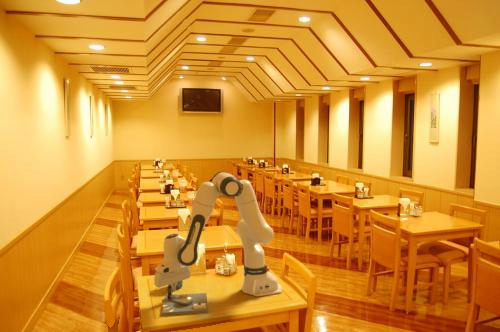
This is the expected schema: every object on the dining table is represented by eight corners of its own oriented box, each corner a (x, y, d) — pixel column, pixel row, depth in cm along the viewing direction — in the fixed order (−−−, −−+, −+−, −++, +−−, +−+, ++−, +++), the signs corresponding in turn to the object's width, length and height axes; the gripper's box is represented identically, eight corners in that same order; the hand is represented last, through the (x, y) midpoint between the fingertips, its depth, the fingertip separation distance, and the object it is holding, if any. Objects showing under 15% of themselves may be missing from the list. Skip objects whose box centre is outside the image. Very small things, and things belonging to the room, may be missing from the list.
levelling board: (206, 295, 218) (206, 288, 218) (208, 313, 199) (207, 304, 198) (163, 298, 215) (163, 290, 215) (161, 316, 195) (160, 307, 195)
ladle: (195, 301, 207) (195, 289, 207) (186, 306, 201) (186, 294, 200) (172, 295, 215) (172, 283, 214) (163, 300, 209) (163, 288, 208)
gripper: (185, 259, 221) (186, 283, 222) (152, 268, 207) (153, 294, 208) (192, 261, 216) (193, 286, 217) (158, 271, 202) (159, 298, 204)
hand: (173, 290), depth 213 cm, fingers closed
